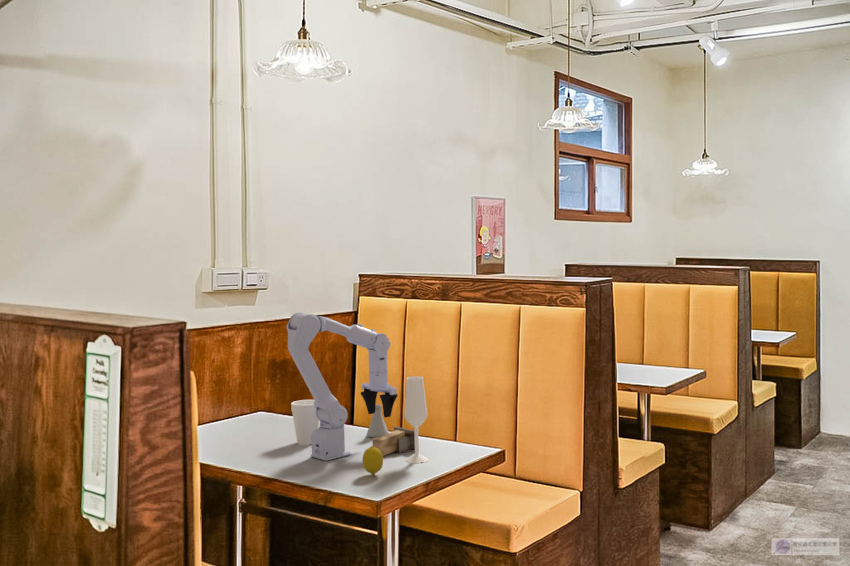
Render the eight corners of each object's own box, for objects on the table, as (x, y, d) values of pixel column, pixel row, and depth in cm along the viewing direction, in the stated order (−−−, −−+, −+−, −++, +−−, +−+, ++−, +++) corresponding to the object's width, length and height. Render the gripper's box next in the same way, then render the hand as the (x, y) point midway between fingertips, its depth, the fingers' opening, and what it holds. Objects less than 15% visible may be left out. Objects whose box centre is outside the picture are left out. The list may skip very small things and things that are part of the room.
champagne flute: (402, 458, 227) (400, 377, 226) (423, 456, 229) (421, 375, 228) (410, 464, 220) (407, 380, 219) (432, 461, 223) (430, 378, 222)
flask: (378, 439, 251) (377, 408, 251) (362, 436, 256) (361, 406, 255) (393, 434, 257) (392, 404, 256) (377, 432, 261) (376, 402, 261)
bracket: (403, 454, 231) (402, 434, 231) (381, 449, 238) (381, 429, 238) (417, 450, 235) (417, 431, 235) (396, 445, 242) (395, 426, 242)
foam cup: (325, 444, 246) (324, 403, 246) (296, 447, 243) (295, 406, 242) (318, 437, 255) (316, 398, 255) (290, 441, 252) (288, 401, 251)
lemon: (383, 471, 214) (382, 443, 213) (383, 477, 208) (382, 448, 208) (363, 472, 214) (362, 443, 213) (362, 478, 208) (361, 448, 208)
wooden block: (398, 445, 239) (397, 429, 238) (406, 446, 236) (404, 431, 236) (373, 454, 232) (372, 439, 232) (381, 456, 230) (379, 441, 229)
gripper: (403, 372, 238) (404, 416, 238) (373, 367, 248) (374, 410, 249) (385, 375, 233) (387, 420, 234) (355, 370, 244) (357, 413, 244)
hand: (379, 415), depth 241 cm, fingers open, 7 cm apart
